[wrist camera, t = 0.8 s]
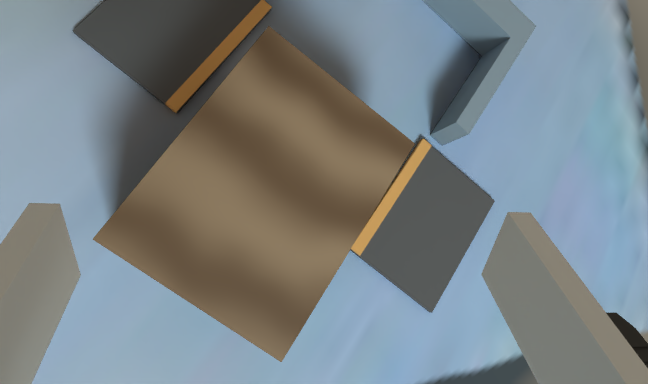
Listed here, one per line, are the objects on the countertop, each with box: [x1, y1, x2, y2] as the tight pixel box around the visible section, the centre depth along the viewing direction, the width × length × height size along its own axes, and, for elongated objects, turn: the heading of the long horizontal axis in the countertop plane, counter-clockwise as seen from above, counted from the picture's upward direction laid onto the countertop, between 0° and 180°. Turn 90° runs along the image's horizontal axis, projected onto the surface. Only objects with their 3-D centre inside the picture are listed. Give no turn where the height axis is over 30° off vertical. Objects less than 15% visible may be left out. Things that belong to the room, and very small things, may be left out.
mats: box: [73, 0, 494, 312], centre depth 37 cm, size 12×35×1 cm, turn 54°
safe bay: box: [422, 0, 536, 146], centre depth 40 cm, size 14×21×4 cm, turn 54°
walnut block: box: [93, 26, 415, 362], centre depth 31 cm, size 16×12×9 cm
